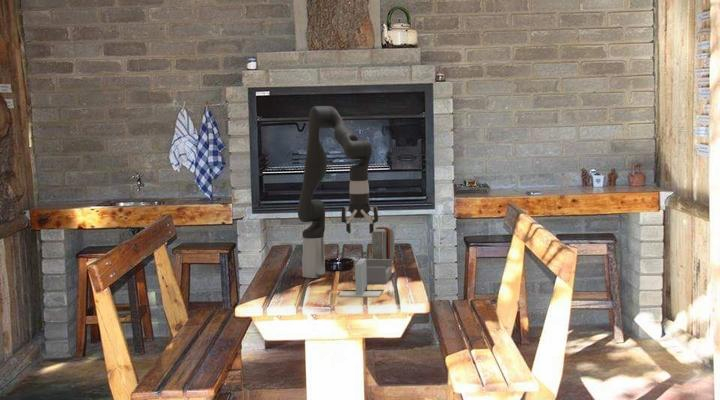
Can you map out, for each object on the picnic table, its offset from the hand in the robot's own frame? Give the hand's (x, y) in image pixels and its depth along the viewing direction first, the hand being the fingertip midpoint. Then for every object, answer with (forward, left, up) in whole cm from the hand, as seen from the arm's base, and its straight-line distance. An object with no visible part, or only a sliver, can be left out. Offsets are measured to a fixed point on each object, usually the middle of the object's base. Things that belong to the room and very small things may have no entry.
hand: (360, 233), depth 351 cm
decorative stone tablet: (+2, +50, -24) cm, 55 cm away
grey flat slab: (0, 0, -23) cm, 23 cm away
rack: (+2, +21, -24) cm, 32 cm away
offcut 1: (-2, +20, -21) cm, 29 cm away
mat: (0, 0, -24) cm, 24 cm away
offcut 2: (-2, +21, -23) cm, 31 cm away
